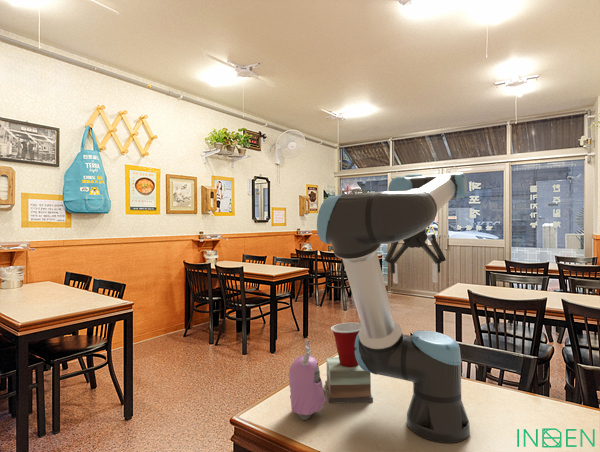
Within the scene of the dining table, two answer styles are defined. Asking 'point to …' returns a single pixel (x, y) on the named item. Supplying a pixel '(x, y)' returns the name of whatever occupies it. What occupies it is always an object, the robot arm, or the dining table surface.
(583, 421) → the dining table surface
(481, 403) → the dining table surface
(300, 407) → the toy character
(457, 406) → the robot arm
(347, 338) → the plastic cup
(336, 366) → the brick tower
